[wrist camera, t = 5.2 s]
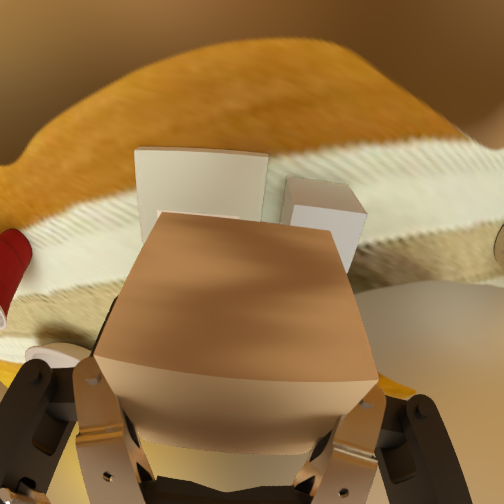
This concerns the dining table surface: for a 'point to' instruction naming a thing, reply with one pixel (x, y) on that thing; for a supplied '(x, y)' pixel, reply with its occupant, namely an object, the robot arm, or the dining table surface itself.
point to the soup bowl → (58, 354)
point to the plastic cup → (11, 267)
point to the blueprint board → (199, 183)
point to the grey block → (325, 212)
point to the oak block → (236, 337)
